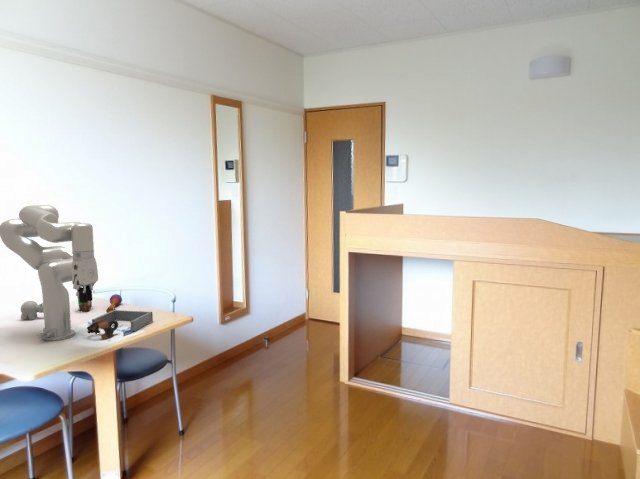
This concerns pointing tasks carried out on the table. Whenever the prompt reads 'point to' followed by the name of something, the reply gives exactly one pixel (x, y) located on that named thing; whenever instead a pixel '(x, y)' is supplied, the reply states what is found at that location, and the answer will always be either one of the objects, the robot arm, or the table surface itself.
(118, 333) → the table surface
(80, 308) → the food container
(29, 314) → the chubby cartoon animal
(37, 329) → the table surface
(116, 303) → the kendama
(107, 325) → the pottery mug
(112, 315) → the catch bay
